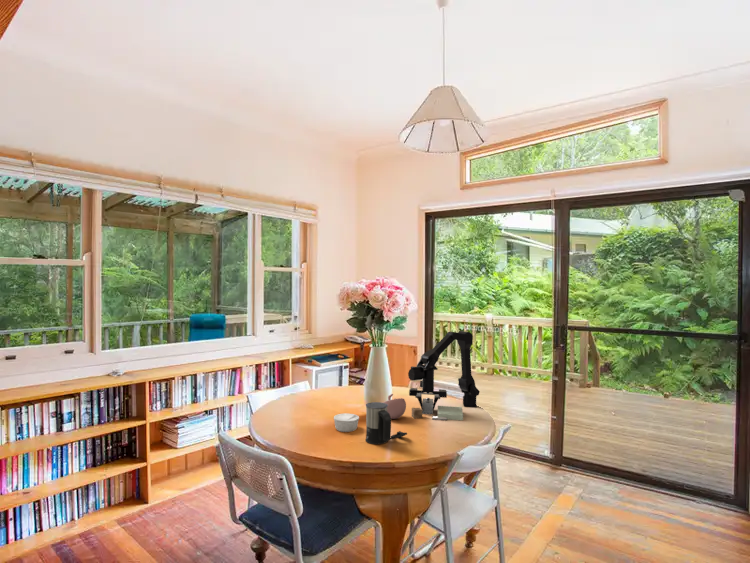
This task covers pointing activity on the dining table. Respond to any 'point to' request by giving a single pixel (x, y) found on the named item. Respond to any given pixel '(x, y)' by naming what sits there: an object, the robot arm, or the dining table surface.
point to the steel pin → (439, 418)
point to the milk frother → (379, 424)
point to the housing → (427, 406)
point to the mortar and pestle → (395, 407)
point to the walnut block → (416, 413)
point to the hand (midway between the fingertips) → (427, 409)
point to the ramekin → (346, 422)
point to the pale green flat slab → (450, 412)
